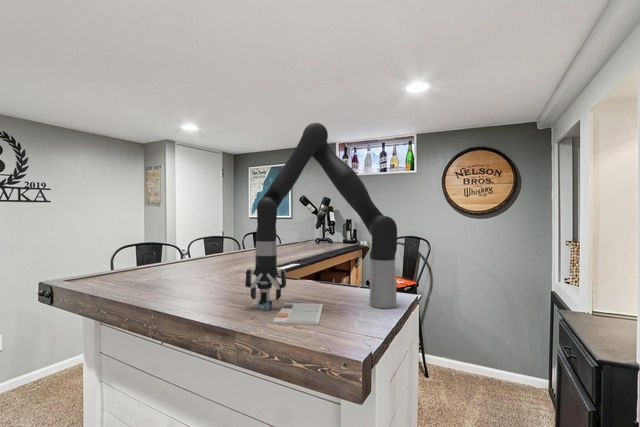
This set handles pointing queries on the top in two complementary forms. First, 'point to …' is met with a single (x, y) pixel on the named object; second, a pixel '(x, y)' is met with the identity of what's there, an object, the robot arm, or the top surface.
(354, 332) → the top surface
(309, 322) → the board
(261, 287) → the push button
